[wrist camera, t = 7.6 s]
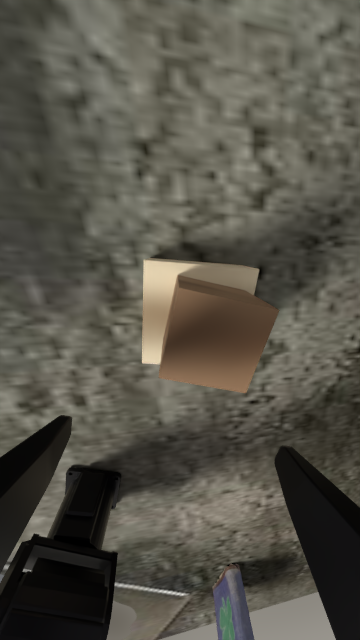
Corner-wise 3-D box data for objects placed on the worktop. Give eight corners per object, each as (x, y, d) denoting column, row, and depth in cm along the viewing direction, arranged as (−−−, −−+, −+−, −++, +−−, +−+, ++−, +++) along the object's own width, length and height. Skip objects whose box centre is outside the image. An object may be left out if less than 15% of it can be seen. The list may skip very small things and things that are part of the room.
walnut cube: (224, 351, 16) (245, 393, 11) (163, 338, 16) (158, 377, 11) (244, 290, 15) (279, 310, 10) (177, 274, 14) (179, 287, 9)
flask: (228, 561, 33) (252, 698, 23) (244, 563, 34) (275, 699, 24) (209, 589, 36) (223, 721, 26) (224, 590, 37) (244, 721, 26)
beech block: (227, 346, 20) (239, 368, 17) (148, 341, 20) (142, 363, 16) (241, 264, 18) (259, 269, 14) (150, 257, 17) (143, 260, 14)
